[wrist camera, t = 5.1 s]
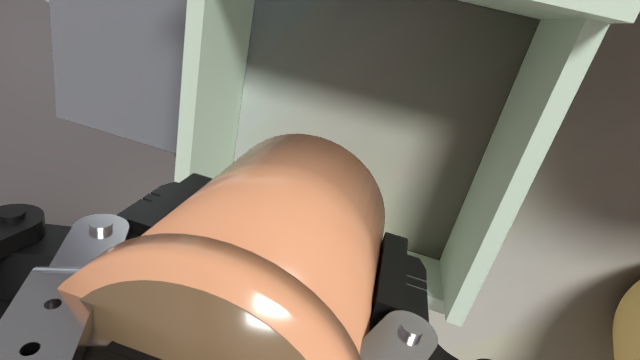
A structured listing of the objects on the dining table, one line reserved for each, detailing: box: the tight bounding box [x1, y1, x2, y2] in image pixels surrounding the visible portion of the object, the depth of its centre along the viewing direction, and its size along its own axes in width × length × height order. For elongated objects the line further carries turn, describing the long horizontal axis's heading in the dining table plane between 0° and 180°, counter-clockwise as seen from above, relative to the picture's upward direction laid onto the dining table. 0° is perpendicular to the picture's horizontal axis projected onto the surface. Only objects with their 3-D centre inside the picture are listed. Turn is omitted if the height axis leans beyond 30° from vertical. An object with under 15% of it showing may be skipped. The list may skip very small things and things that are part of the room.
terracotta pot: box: [57, 134, 385, 360], centre depth 11 cm, size 6×6×8 cm
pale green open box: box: [174, 0, 640, 327], centre depth 24 cm, size 20×20×9 cm
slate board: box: [49, 0, 187, 154], centre depth 30 cm, size 12×12×2 cm
